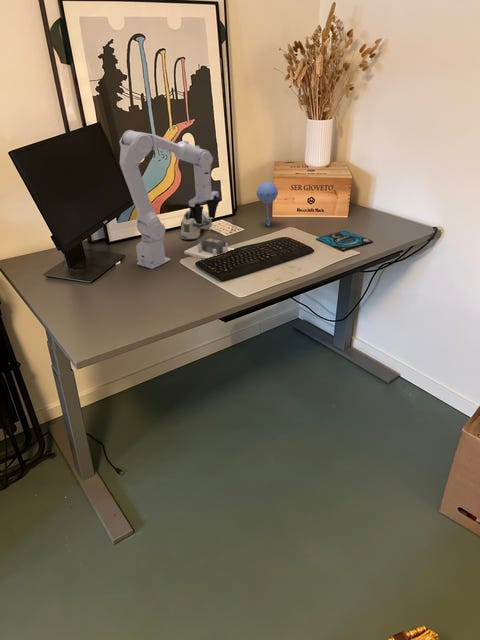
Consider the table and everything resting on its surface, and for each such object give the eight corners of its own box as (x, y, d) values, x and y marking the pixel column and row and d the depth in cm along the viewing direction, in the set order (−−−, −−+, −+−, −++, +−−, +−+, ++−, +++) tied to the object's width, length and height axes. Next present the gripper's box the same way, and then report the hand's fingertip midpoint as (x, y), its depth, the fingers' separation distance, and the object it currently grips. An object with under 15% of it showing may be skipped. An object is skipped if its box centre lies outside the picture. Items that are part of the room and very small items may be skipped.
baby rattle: (254, 223, 205) (253, 180, 196) (273, 220, 207) (273, 178, 198) (261, 229, 198) (260, 185, 189) (280, 227, 200) (281, 183, 191)
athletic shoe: (214, 221, 209) (206, 194, 203) (205, 241, 189) (195, 213, 183) (192, 226, 211) (183, 200, 205) (181, 247, 191) (171, 219, 186)
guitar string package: (342, 250, 175) (316, 238, 186) (342, 253, 176) (315, 241, 187) (372, 240, 182) (345, 230, 193) (372, 244, 182) (344, 233, 194)
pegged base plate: (218, 263, 170) (217, 253, 168) (184, 253, 179) (183, 244, 177) (238, 252, 178) (238, 243, 177) (205, 243, 187) (204, 235, 185)
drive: (225, 251, 177) (225, 240, 174) (219, 255, 174) (218, 244, 172) (209, 247, 181) (208, 236, 179) (202, 250, 178) (201, 240, 176)
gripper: (198, 190, 166) (201, 228, 173) (224, 180, 176) (226, 216, 183) (183, 187, 170) (186, 224, 177) (209, 178, 180) (211, 213, 187)
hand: (205, 220), depth 180 cm, fingers open, 7 cm apart
